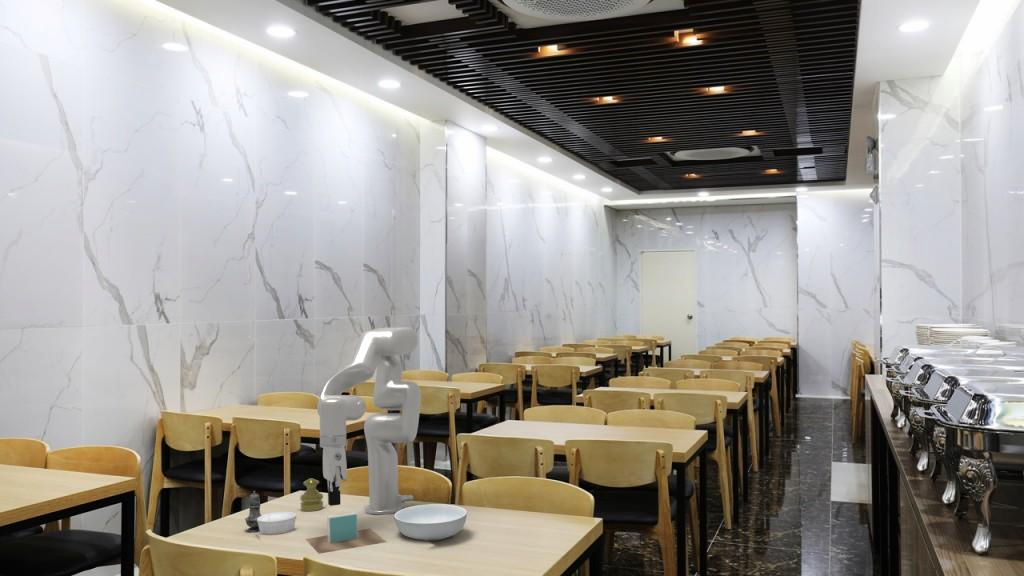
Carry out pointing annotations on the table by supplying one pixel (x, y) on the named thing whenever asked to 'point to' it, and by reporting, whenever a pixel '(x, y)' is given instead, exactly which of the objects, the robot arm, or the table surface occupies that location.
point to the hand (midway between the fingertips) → (334, 504)
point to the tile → (342, 527)
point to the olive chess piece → (311, 496)
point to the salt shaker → (253, 513)
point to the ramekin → (276, 522)
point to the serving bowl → (430, 521)
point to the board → (363, 539)
